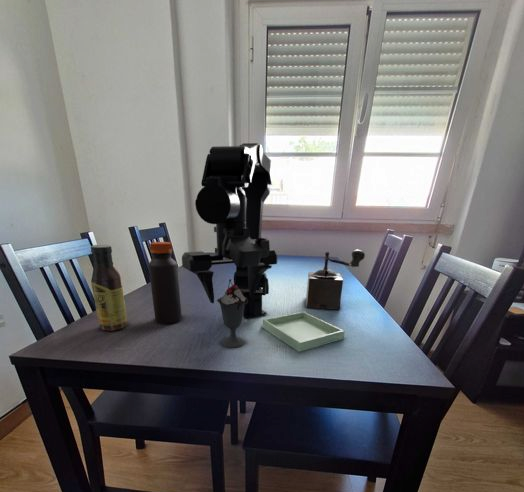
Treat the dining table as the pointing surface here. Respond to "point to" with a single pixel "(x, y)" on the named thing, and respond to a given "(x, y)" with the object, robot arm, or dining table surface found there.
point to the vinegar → (164, 284)
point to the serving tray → (303, 330)
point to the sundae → (233, 313)
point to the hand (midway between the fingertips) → (232, 299)
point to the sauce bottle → (107, 290)
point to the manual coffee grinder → (328, 284)
